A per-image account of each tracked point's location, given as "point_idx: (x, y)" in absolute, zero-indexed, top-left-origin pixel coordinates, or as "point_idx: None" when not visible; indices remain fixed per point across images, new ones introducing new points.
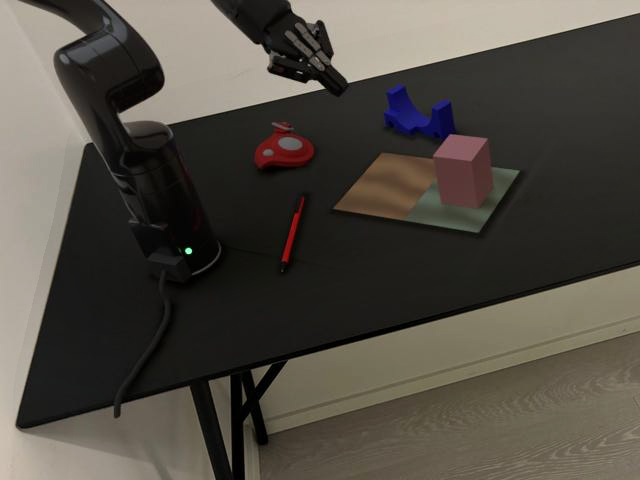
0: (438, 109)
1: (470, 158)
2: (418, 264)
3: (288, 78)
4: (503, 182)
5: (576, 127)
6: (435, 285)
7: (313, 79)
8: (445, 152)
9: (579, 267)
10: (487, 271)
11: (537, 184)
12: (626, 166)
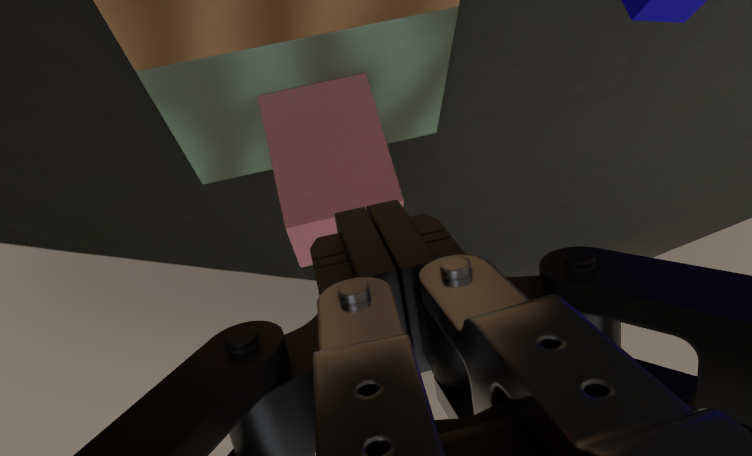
0: (637, 18)
1: (309, 263)
2: (32, 161)
3: (86, 451)
4: (385, 134)
5: (614, 112)
6: (11, 206)
7: (302, 328)
8: (313, 233)
9: (215, 263)
10: (120, 224)
11: (403, 156)
12: (477, 199)
